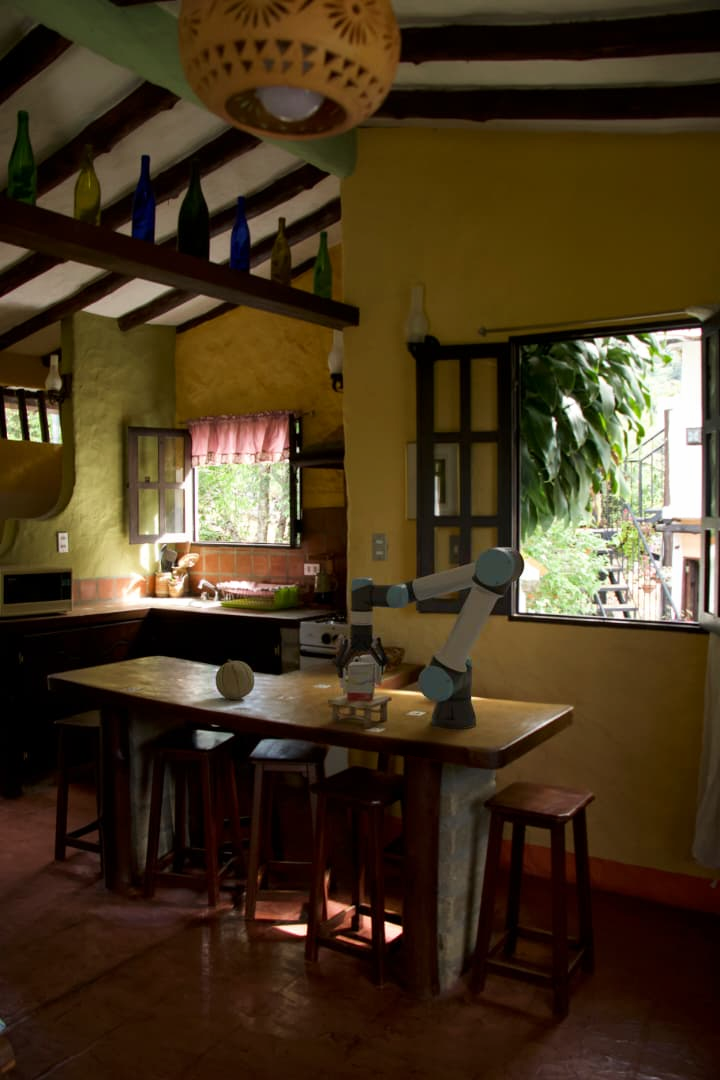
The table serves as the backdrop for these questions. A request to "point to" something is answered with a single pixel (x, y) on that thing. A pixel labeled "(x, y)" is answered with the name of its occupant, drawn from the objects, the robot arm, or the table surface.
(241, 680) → the cantaloupe
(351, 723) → the table surface
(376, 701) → the footstool
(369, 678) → the ink box
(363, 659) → the teacup
